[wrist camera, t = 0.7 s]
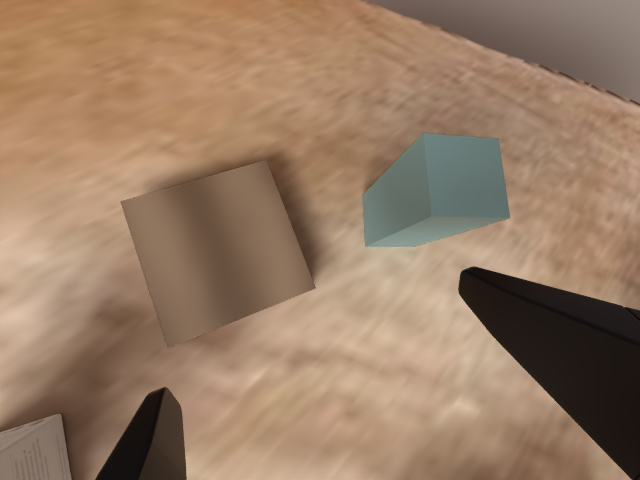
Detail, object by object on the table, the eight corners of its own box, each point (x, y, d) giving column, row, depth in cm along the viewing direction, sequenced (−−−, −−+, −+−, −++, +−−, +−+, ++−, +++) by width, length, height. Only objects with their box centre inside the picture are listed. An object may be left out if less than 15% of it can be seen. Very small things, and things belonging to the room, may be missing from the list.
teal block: (410, 196, 25) (498, 138, 16) (415, 246, 25) (510, 217, 15) (362, 195, 25) (423, 132, 15) (365, 246, 24) (431, 216, 14)
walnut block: (266, 175, 24) (266, 159, 21) (310, 288, 23) (315, 288, 20) (140, 213, 22) (120, 201, 19) (181, 340, 21) (167, 348, 18)
